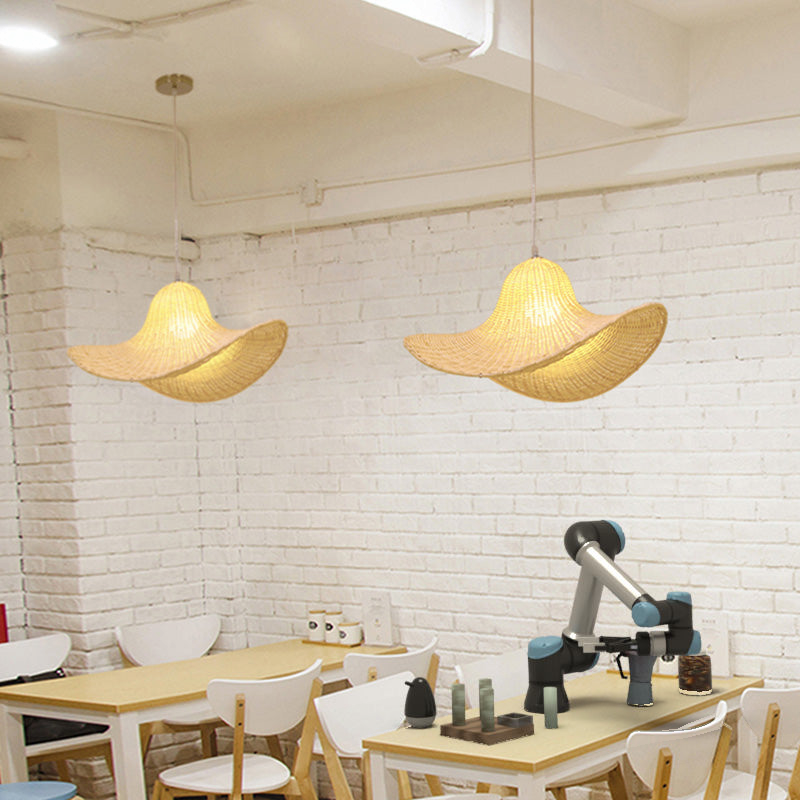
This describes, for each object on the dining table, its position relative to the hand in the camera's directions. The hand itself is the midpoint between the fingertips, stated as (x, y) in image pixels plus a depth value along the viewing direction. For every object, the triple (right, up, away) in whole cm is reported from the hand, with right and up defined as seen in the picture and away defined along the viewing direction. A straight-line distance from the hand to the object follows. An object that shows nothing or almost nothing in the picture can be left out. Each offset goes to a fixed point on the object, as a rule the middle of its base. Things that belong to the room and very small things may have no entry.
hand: (580, 644), depth 364 cm
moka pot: (+25, -27, +31) cm, 48 cm away
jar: (+48, -28, +50) cm, 75 cm away
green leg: (-9, -25, -1) cm, 27 cm away
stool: (-30, -25, -10) cm, 40 cm away
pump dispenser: (-50, -27, +5) cm, 57 cm away
